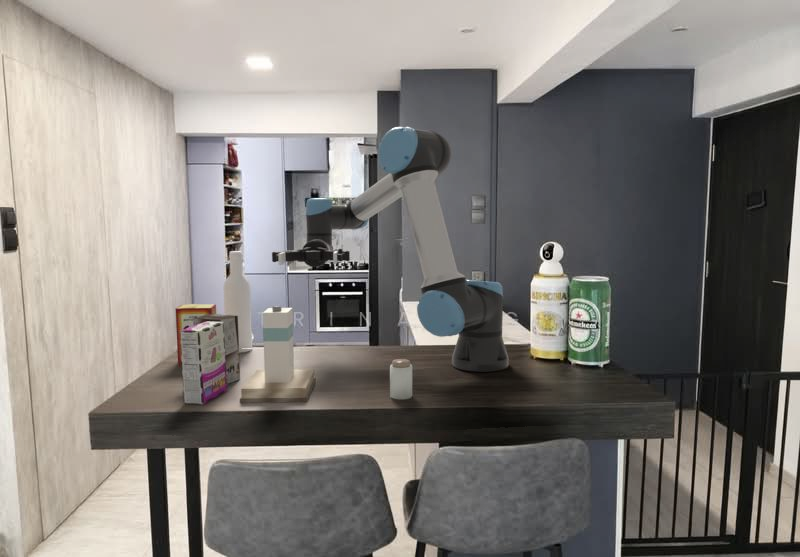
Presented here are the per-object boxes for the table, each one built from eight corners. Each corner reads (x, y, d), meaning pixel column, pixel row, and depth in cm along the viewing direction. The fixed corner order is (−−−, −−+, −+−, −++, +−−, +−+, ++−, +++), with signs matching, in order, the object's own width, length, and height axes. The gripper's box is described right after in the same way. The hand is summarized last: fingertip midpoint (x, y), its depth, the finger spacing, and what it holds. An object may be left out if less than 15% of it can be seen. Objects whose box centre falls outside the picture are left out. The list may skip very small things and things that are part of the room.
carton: (294, 374, 144) (292, 303, 142) (289, 382, 137) (287, 308, 135) (270, 374, 144) (268, 303, 142) (264, 382, 137) (262, 308, 135)
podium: (315, 381, 149) (315, 369, 149) (306, 401, 133) (306, 388, 132) (256, 381, 149) (255, 369, 149) (239, 402, 132) (239, 389, 132)
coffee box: (241, 379, 151) (239, 315, 150) (223, 385, 146) (221, 319, 144) (213, 375, 155) (210, 313, 154) (194, 381, 149) (192, 317, 148)
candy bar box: (208, 389, 142) (205, 320, 141) (227, 390, 141) (225, 321, 140) (181, 404, 132) (178, 329, 130) (202, 405, 131) (199, 330, 129)
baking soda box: (217, 358, 174) (215, 303, 172) (213, 363, 167) (211, 306, 166) (183, 359, 173) (181, 303, 171) (178, 365, 166) (175, 307, 165)
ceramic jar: (411, 392, 139) (411, 358, 138) (413, 399, 134) (413, 363, 133) (389, 392, 139) (389, 358, 138) (390, 399, 134) (390, 364, 133)
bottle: (248, 353, 180) (245, 252, 177) (222, 353, 180) (218, 252, 177) (255, 347, 188) (252, 250, 185) (230, 347, 188) (226, 250, 185)
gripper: (360, 265, 173) (357, 272, 152) (272, 266, 172) (257, 274, 151) (359, 239, 172) (357, 243, 151) (271, 240, 172) (256, 244, 151)
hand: (307, 258), depth 151 cm, fingers open, 13 cm apart
